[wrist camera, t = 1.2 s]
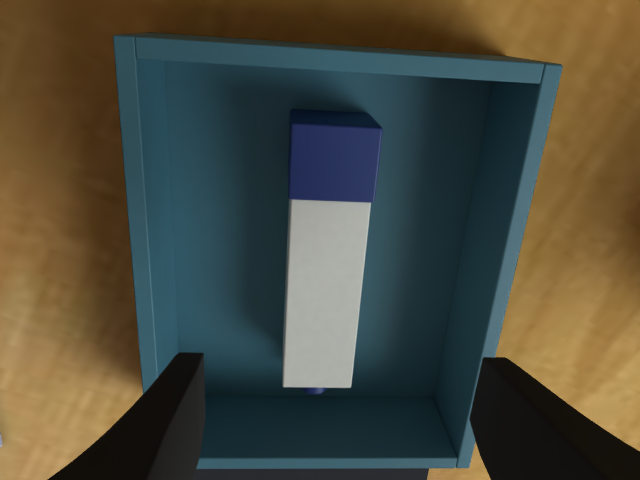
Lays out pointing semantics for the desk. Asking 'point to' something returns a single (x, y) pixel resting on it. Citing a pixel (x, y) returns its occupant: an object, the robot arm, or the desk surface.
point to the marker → (326, 243)
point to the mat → (313, 474)
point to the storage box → (272, 228)
